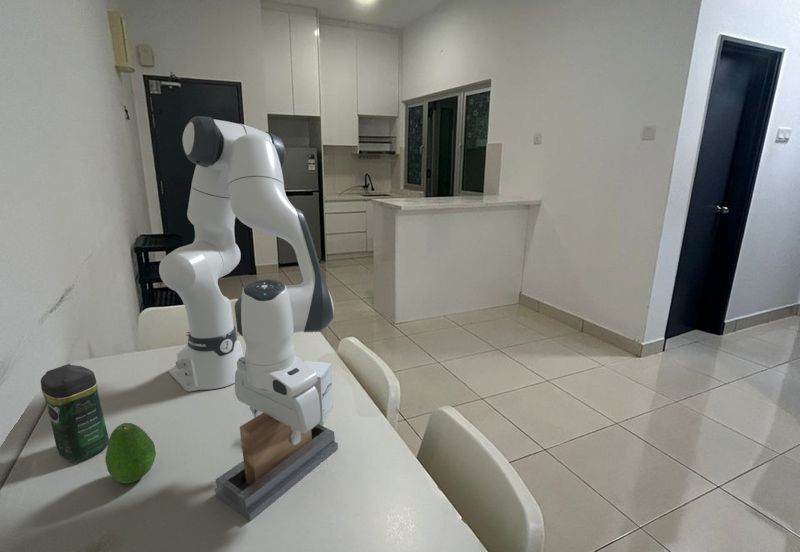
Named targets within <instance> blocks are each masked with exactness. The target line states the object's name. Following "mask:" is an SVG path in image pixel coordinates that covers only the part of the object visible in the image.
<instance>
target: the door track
mask: <svg viewBox="0 0 800 552" xmlns="http://www.w3.org/2000/svg"><path fill="white" fill-rule="evenodd" d="M311 432H312V440H311V441H310V442H308V443H307V444H306V445H304V446H303V447H302V448H300V449H299V450H298V451H296V452H295V453H294V454H292V455H291V456H289V457H288V458H287V459H285V460H284V461H283V462H281V463H280V464H279V465H277V466H276V467H275V468H273V469H272V470H271V471H269V472H268V473H267V474H265V475H264V476H262V477H261V478H260V479H258V480H257V481H256V482H254V483H253V484H252V485H249V484H248V483H246V476H245V468H244V460H242V461H240V462H239V463H238V464H236V465H235V466H234V467H232V468H230V469H229V470H228V471H226V472H224V473H223V474H222V475H220V476H218V477H217V478H215V483H216V485H215V486H216V488H214V492H215V493H214V494H215V497H217V498H218V499H219V500H221V501H222V502H223V503H225V504H226V505H227V506H229V507H230V508H232V509H233V510H234V511H236V512H237V513H238V514H240V515H241V516H243V517H244V518H245V519H246V520H248V521H249V522H251V521H252V520H254V519H256V517H257V516H259V514H261V513H263V512H264V511H265V510H266V509H267V508H269V507H270V506H271V505H272V504H274V502H276V501H277V500H278V499H279V498H281V497H282V496H283V495H284V494H285V493H287V492H288V491H290V489H291V488H293V487H294V486H295V485H296V484H297V483H299V482H300V481H301V480H302V479H303V478H305V477H306V476H307V475H308V474H310V473H311V472H312V471H313V470H315V469H316V468H317V467H318V466H319V465H321V464H322V463H323V462H324V461H325V460H327V459H328V458H329V457H330V456H331V455H333V454H334V453H335V452H336V451H338V450H339V445H338V442H336V439H335V438H336V437H335V436H336V435H335V431H334V430H332V429H330V428H327V427H325V426H323V425H319V424H317V425H316V426H315V427H314V428H313V429H311ZM337 449H338V450H337ZM332 453H333V454H332ZM322 461H323V462H322ZM321 462H322V463H321ZM320 463H321V464H320Z"/></svg>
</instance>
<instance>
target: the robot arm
mask: <svg viewBox="0 0 800 552" xmlns="http://www.w3.org/2000/svg"><path fill="white" fill-rule="evenodd" d="M182 146H183V151H184V152H183V153H184V155H185V156H186V158H187V159H188V160H189V161H190V162H191V163H192V164H195V168H194V173H193V177H192V180H191V186H190V187H191V188H190V193H189V199H188V207H187V211H186V212H187V213H186V215H187V219H188V221H189V222H190V223H191V224H192V225H193V228H194V240H193V242H192V243H189V244H187V245H183V246H180V247H178V248H175V249H174V250H172V251H171V252H169V253H168V254H166V255H165V256H164V257H163V258H162V259H161V261H160V262H159V267H158V274H159V276H160V279H161V281H162V282H163V283H164V285H165V286H167V288H168V289H170V290H172V291H175V292H176V294H178V296H179V297H180V299H181V301H182V303H183V305H184V308H185V312H186V316H187V321H188V328H189V331H186V334H187V335H186V337H188V338H187V344H186V345H185V346H184V347H183V348H182V349H181V350H179V352H178V353H177V355H176V358H177V360H176V361H175V365H174V366H173V367H172V368H170V369H169V374H170V376H171V377H172V378H173V379H174V381H176V382H177V383H178V384H179V386H181V387H182V388H183V390H184V391H185V392H195V391H201V390H202V391H203V390H215V389H216V390H217V389H221V388H225V387H228V386H231V385H233V384H234V392H235V393H234V394H235V396H236V399H237V400H238V401H239V402H241V403H243V404H244V405H247V406H249V409H250V411H251V413H252V415H253V418H255V417H257V416H259V415H260V414H262V413H265V414H267V415H269V416H271V417H273V418H274V419H276V420H278V421H280V422H282V423H284V424H286V425H288V426H290V427H291V430H292V431H293V432H292V433H290V434H289V435H288V439H289V440H288V442H290V443H291V444H293V445H296V444H298V443H299V442H300V441H301V432H302V433H306V432H308V431H310V430H311V429H313V428H314V427H315V426H316V425H317V424H318V423H319V421H320V403H319V395H318V392H317V389H316V388H315V386H314V384H315V383H316V382H317V374H316V373H315V372H314V371H313V370H312V369H311V368H309V367H308V366H307V365H306V364H305V363H304V362H303V361H304V360H302V359H301V358H300V357H299V356H298V355H297V354H296V353H297V352H296V347H295V344H294V341H293V336H294V333H296V334H297V333H321V332H322V331H323V330H325V329H326V328H327V327H328V326H329V324H330V323H331V322H332V321H333V320H334V313H335V312H334V311H335V310H334V309H335V307H334V301H333V297H332V295H331V293H330V291H329V289H328V286H327V284H326V281H325V277H324V274H323V271H322V267H321V265H320V261H319V258H318V254H317V251H316V247H315V243H314V241H313V238H312V234H311V231H310V228H309V225H308V223H307V222H308V221H307V219H306V217H305V215H304V213H303V211H302V210H301V209H300V208H297V207H295V205H293V204H292V203H291V202H290V200H289V198H288V196H287V194H286V191H285V181H284V175H283V168H284V165H285V162H286V159H287V158H286V155H287V154H286V153H287V152H286V147H285V144H284V142H283V139H281V138H280V137H279V136H277V135H275V134H273V133H271V132H269V131H263V130H260V129H259V128H255V127H253V126H250V125H246V124H243V123H236V122H231V121H227V120H220V119H214V118H213V117H210V116H194V117H192V118H191V119H190V120H188V122H187V124H186V125H185V127H184V131H183V133H182ZM236 218H237V220H238V221H240V222H241V223H242V224H243V225H246V227H249V228H250V229H253V230H255V231H257V232H261V233H264V234H268V235H272V236H273V237H274V236H275V237H278V238H279V239H283V240H284V241H286V242H287V243H289V245H291V247H292V248H293V251H294V253H295V257H296V260H297V263H298V266H299V270H300V273H301V276H302V282H301V283H298V284H292V285H290V284H289V285H286V284H285V283H284V282H283V281H280V280H277V279H271V278H269V279H268V278H266V279H265V278H264V279H258V280H254V281H251V282H249V283H247V284H246V285H245V286H244V287H242V293H241V295H240V296H239V297H238V299H237V300H236V301H235V303H234V314H235V323H236V326H235V325H234V318H233V309H232V303H231V302H232V301H230V299H229V298H228V297H227V296H225V295H223V294H222V292H221V288H220V286H219V283H218V280H219V279H220V278H223V277H224V276H226V275H228V274H230V273H231V272H232V271H233V270H235V268H236V267H237V266H238V265H239V263H240V261H241V257H242V256H241V255H242V253H241V250H240V248H239V246H238V244H237V243H236V236H235V223H236ZM237 334H239V335H241V337H242V338H243V340H244V343H245V352H243V349H242V345H241V342H240V341H239V340H238V335H237ZM243 353H244V354H243Z"/></svg>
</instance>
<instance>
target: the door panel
mask: <svg viewBox="0 0 800 552" xmlns="http://www.w3.org/2000/svg"><path fill="white" fill-rule="evenodd" d="M292 432H293V431H292V430H291V427H290V426H288V425H286V424H284V423H282V422H280V421H278V420H276V419H274V418H273V417H271V416H269V415H267V414H265V413H262V414H260V415H259V416H257V417H253V418H252V419H250V420H248V421H247V422H245V423H244V424H242V425H240V426H239V433H240V441H241V449H242V457H243V461H244V468H245V476H246V483H248V484H249V485H252V484H253V483H254V482H256V481H257V480H258V479H260V478H261V477H262V476H264V475H265V474H267V473H268V472H269V471H271V470H272V469H273V468H275V467H276V466H277V465H279V464H280V463H281V462H283V461H284V460H285V459H287V458H288V457H289V456H291V455H292V454H294V453H295V452H296V451H298V450H299V449H300V448H302V447H303V446H304V445H306V444H307V443H308V442H310V441H311V440H312V432H311V430H310V431H308V432H306V433H302V432H301V441H300V442H299V443H298V444H296V445H293V444H291V443H290V442H288V440H289V439H288V435H289V434H290V433H292Z"/></svg>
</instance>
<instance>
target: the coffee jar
mask: <svg viewBox="0 0 800 552" xmlns="http://www.w3.org/2000/svg"><path fill="white" fill-rule="evenodd" d="M40 387H41V391H42V396H43V398H44V401H45V404H46V407H47V412H48V416H49V420H50V425H51V428H52V429H51V430H52V433H53V438H54V442H55V447H56V451H57V452H58V454H59V455H60V456H61V457H62V458H64V459H65V460H67V461H70V462H74V463H75V462H79V461H83V460H86V459H89V458H92V457H94V456H96V455H97V454H99V453H101V452H102V451H103V450H105V449H107V448H108V443H109V439H110V436H109V433H108V430H107V425H106V422H105V418H104V417H105V416H104V413H103V409H102V404H101V401H100V396H99V390H98V383H97V379H96V376H95V372H94V370H91V369H89V368H87V367H85V366H81V365H77V364H76V365H74V364H70V363H69V364H63V365H62V366H59V367H55V368H52V369H50V370H49V369H48V370H47V371H46V372H45V373H44V374H43V375H42V377H41V379H40Z"/></svg>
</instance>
